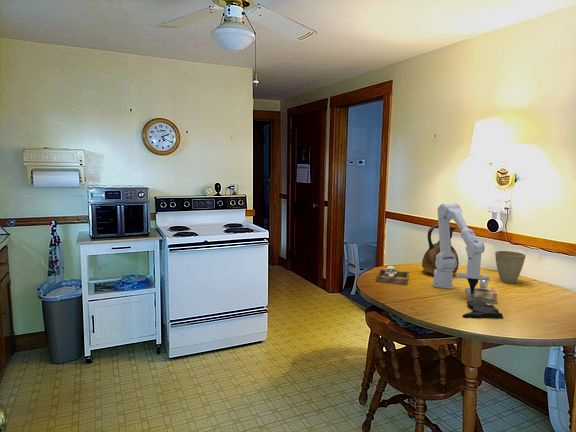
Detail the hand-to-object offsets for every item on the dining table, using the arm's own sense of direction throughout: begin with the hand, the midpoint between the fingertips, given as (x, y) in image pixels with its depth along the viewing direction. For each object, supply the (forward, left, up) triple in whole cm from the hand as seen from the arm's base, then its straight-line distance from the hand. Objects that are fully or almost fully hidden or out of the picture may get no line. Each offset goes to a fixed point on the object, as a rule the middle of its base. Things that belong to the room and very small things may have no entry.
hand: (471, 293), depth 195 cm
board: (+4, +4, -2) cm, 6 cm away
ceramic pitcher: (-14, +41, -2) cm, 43 cm away
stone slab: (+2, -18, -3) cm, 18 cm away
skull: (-40, +17, -2) cm, 44 cm away
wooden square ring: (+5, 0, -1) cm, 5 cm away
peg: (+6, +9, -1) cm, 11 cm away
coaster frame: (-39, +18, -2) cm, 43 cm away
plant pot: (+22, +39, -2) cm, 45 cm away
